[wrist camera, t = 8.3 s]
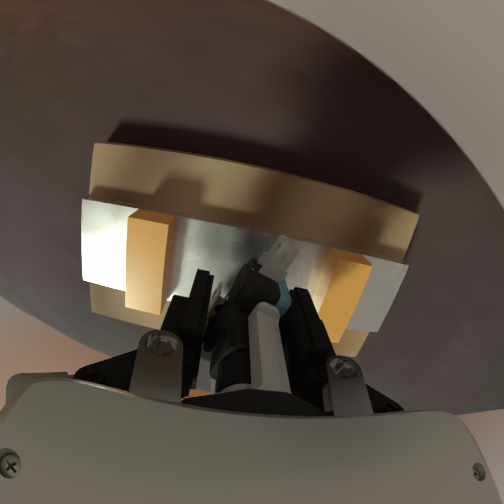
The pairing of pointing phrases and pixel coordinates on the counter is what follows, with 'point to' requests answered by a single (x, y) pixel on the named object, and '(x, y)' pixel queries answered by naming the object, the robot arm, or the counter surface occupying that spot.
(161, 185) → the din panel
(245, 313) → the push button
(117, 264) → the din rail
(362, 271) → the end stops
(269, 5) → the counter surface
